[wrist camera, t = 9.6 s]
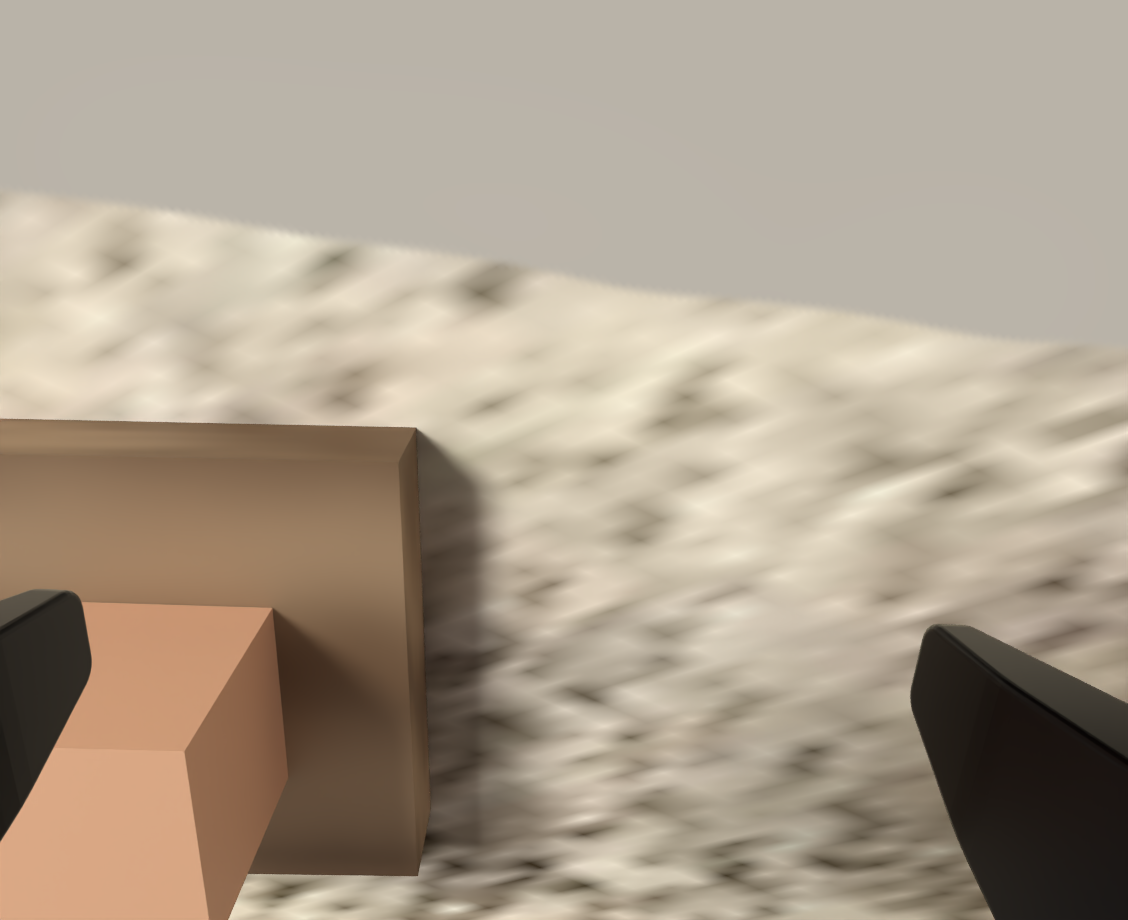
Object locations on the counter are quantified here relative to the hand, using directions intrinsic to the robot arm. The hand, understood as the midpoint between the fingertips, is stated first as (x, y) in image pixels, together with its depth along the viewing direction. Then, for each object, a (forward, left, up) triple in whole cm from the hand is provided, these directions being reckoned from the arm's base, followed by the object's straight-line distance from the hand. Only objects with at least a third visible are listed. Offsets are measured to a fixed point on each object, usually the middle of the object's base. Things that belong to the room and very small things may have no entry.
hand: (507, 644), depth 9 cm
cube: (-8, +8, -10) cm, 15 cm away
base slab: (-8, +9, -13) cm, 17 cm away
